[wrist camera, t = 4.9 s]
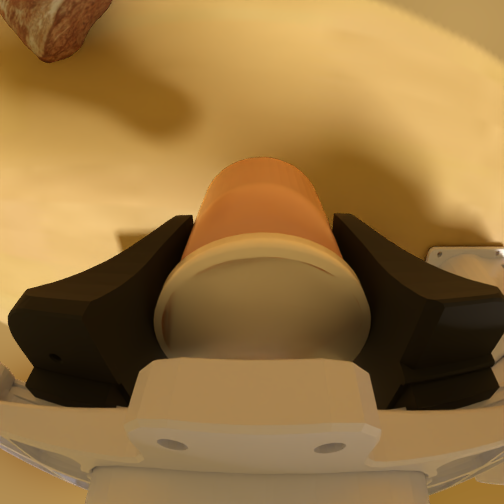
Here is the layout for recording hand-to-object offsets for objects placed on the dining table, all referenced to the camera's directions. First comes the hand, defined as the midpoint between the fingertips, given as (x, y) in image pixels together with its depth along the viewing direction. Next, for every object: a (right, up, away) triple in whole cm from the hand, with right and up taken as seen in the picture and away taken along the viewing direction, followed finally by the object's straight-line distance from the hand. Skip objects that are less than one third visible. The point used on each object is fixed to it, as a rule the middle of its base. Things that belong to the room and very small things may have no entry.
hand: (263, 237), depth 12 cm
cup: (0, +1, +2) cm, 2 cm away
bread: (-16, +19, -1) cm, 25 cm away
